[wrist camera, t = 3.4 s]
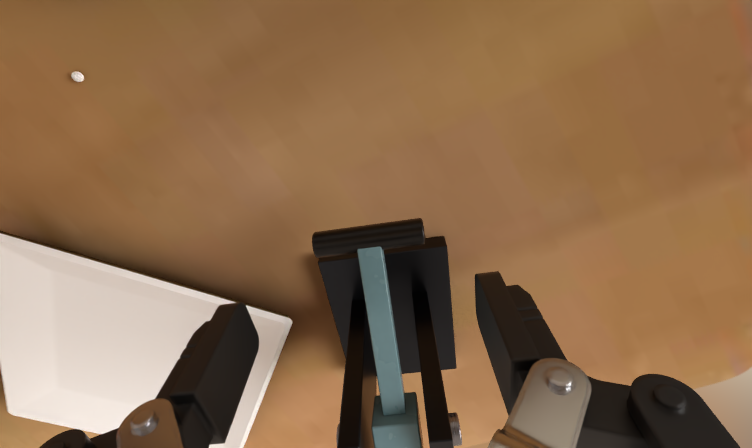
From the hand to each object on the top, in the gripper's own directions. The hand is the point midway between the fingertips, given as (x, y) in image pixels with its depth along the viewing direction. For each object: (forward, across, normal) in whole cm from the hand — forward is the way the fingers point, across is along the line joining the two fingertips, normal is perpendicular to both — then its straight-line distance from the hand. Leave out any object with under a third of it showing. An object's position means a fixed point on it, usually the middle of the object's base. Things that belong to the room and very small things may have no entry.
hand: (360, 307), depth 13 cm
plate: (+10, +19, +11) cm, 24 cm away
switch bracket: (+10, 0, +9) cm, 14 cm away
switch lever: (+4, 0, +6) cm, 7 cm away
